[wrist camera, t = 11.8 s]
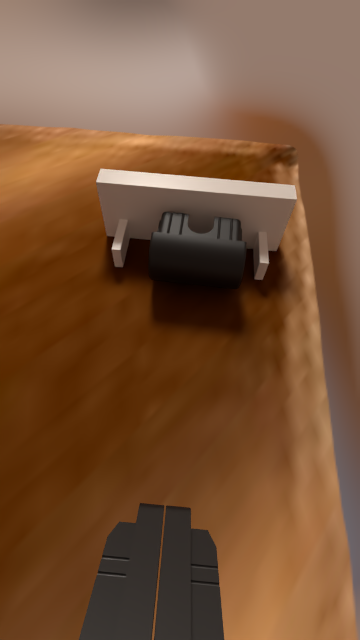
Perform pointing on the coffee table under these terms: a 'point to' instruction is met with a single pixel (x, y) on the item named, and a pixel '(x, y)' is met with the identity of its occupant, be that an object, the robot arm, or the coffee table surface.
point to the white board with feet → (193, 208)
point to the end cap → (197, 252)
